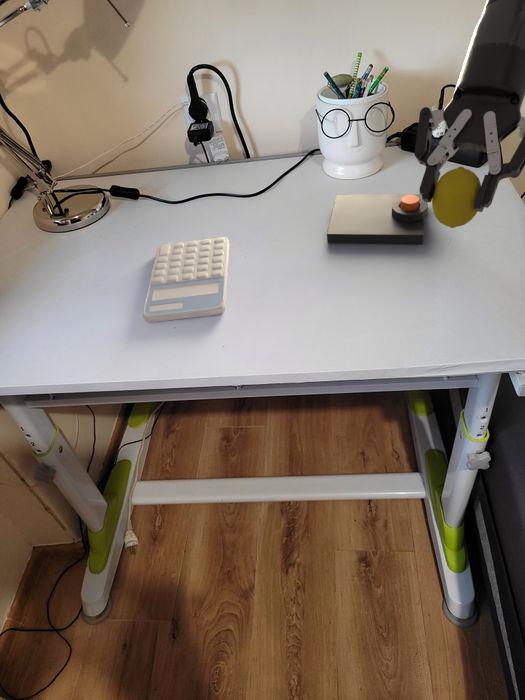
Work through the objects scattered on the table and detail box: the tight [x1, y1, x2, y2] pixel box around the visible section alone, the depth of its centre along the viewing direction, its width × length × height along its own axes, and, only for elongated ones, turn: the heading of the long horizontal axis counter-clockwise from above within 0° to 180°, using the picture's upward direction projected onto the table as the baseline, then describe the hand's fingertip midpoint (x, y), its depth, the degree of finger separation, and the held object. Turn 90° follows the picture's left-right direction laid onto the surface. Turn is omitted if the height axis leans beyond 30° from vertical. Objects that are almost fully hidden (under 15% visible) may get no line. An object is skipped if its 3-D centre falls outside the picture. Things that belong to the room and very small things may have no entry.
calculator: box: [142, 236, 230, 323], centre depth 86 cm, size 13×20×2 cm, turn 0°
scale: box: [326, 193, 429, 245], centre depth 90 cm, size 16×13×4 cm
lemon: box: [431, 166, 482, 229], centre depth 61 cm, size 6×6×8 cm
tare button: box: [401, 195, 419, 211], centre depth 87 cm, size 3×3×2 cm
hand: (451, 204), depth 60 cm, fingers closed on lemon, 5 cm apart
